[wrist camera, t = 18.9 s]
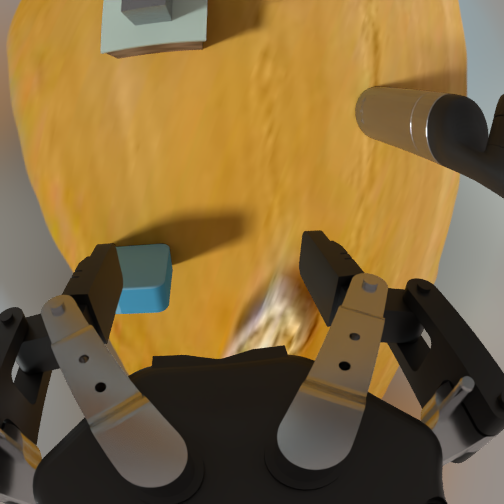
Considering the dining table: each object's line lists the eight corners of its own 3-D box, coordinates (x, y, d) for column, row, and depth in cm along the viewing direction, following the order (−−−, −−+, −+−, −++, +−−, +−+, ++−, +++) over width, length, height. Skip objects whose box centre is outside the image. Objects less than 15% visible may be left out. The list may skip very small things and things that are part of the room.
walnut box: (204, -10, 28) (205, -25, 23) (202, 49, 33) (202, 41, 28) (121, 0, 26) (110, -13, 21) (118, 58, 31) (105, 53, 26)
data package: (107, 270, 47) (89, 315, 37) (102, 247, 45) (80, 290, 35) (173, 266, 49) (168, 312, 39) (170, 242, 47) (163, 286, 36)
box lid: (209, -31, 22) (209, -35, 21) (205, 42, 28) (206, 39, 27) (109, -18, 21) (106, -22, 19) (104, 54, 26) (100, 52, 25)
